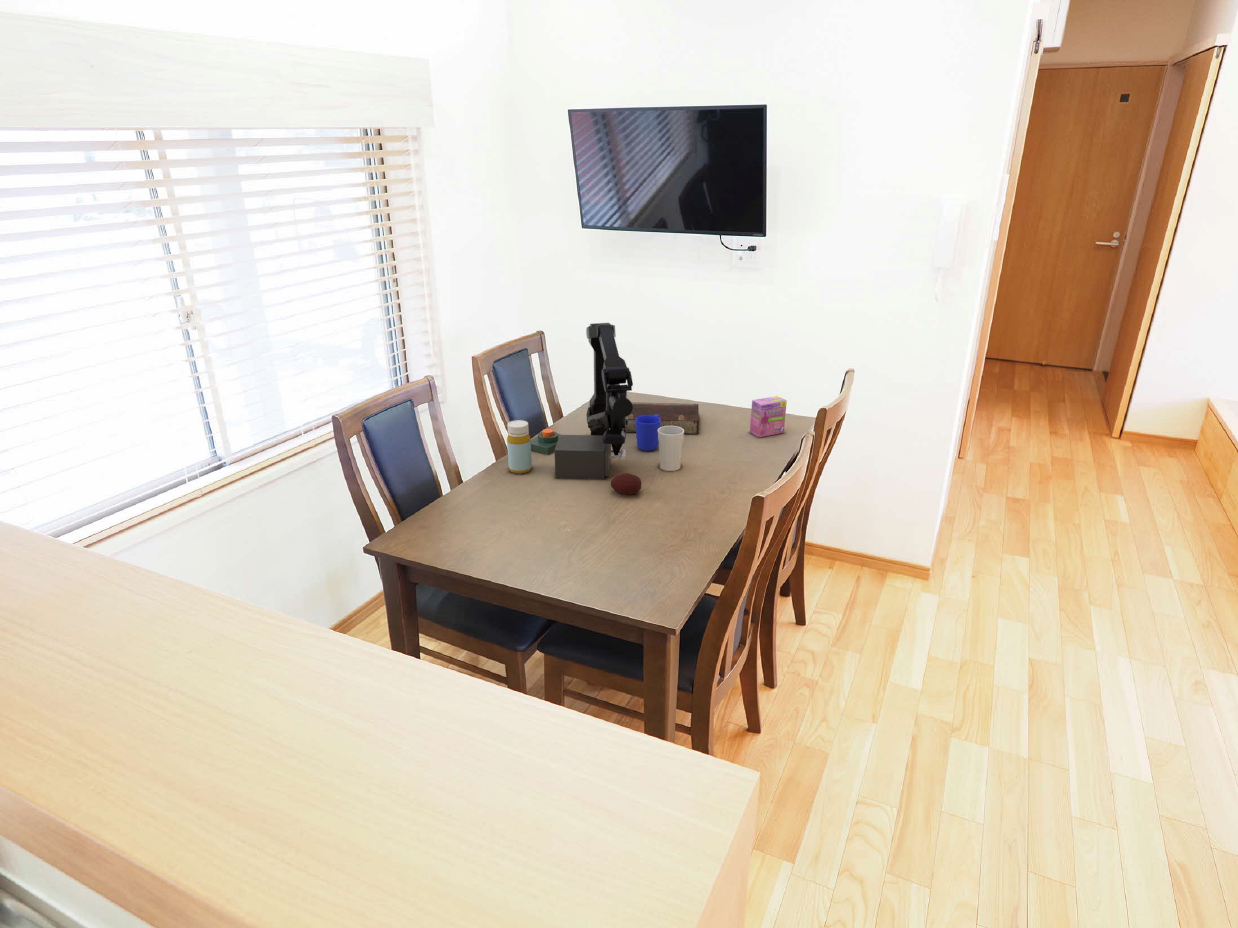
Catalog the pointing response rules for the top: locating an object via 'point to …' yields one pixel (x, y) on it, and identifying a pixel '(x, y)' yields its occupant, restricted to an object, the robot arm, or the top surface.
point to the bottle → (519, 447)
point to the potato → (626, 483)
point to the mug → (647, 432)
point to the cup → (670, 447)
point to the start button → (548, 432)
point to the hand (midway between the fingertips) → (616, 455)
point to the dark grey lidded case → (580, 457)
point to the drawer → (608, 458)
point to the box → (768, 416)
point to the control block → (545, 443)
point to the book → (667, 415)
